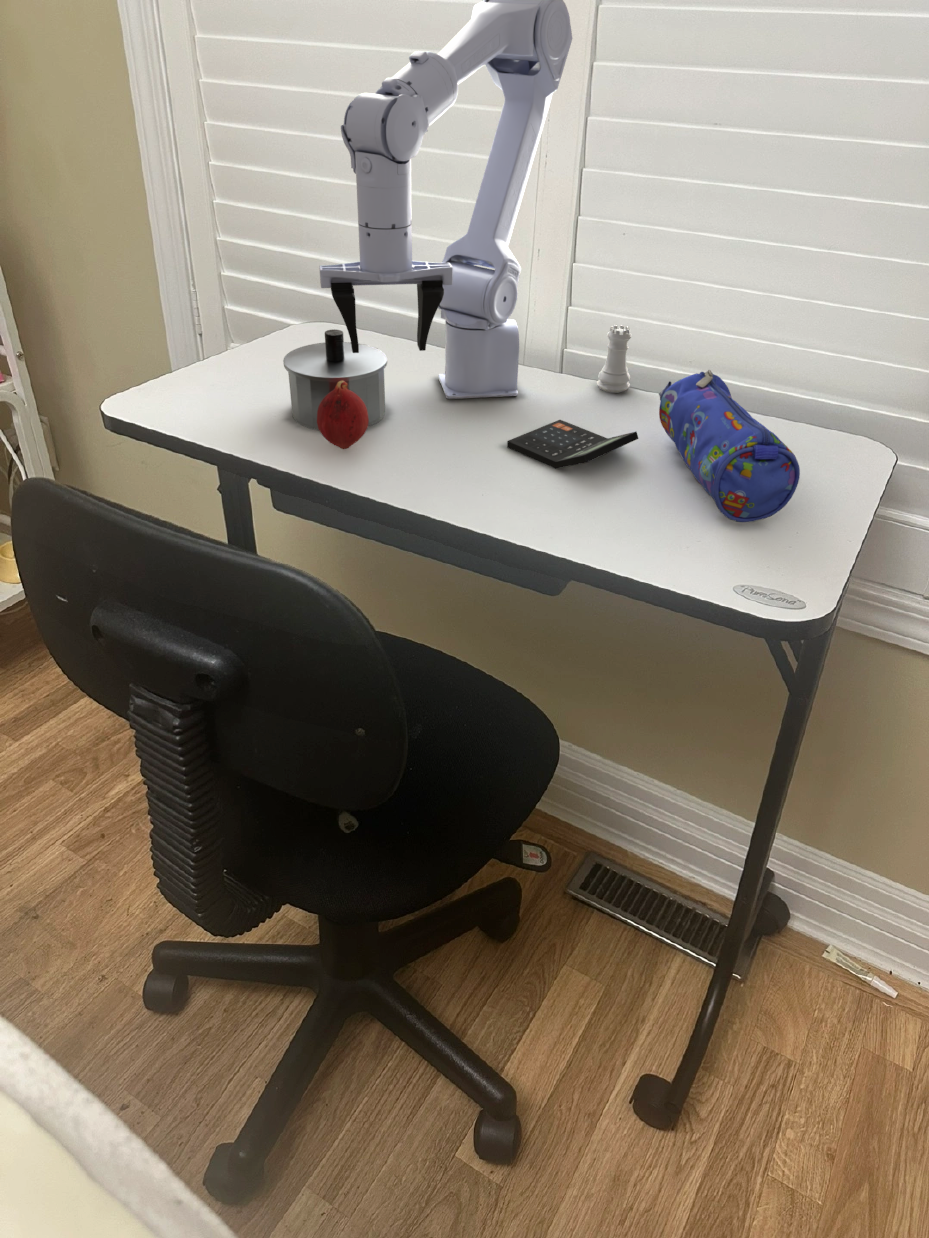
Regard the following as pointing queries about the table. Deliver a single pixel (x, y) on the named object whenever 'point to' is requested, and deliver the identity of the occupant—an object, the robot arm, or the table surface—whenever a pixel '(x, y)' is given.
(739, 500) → the pencil case
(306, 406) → the pot
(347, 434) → the red oval fruit
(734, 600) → the table surface
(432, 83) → the robot arm
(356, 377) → the pot lid
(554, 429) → the calculator
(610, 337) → the rook chess piece
